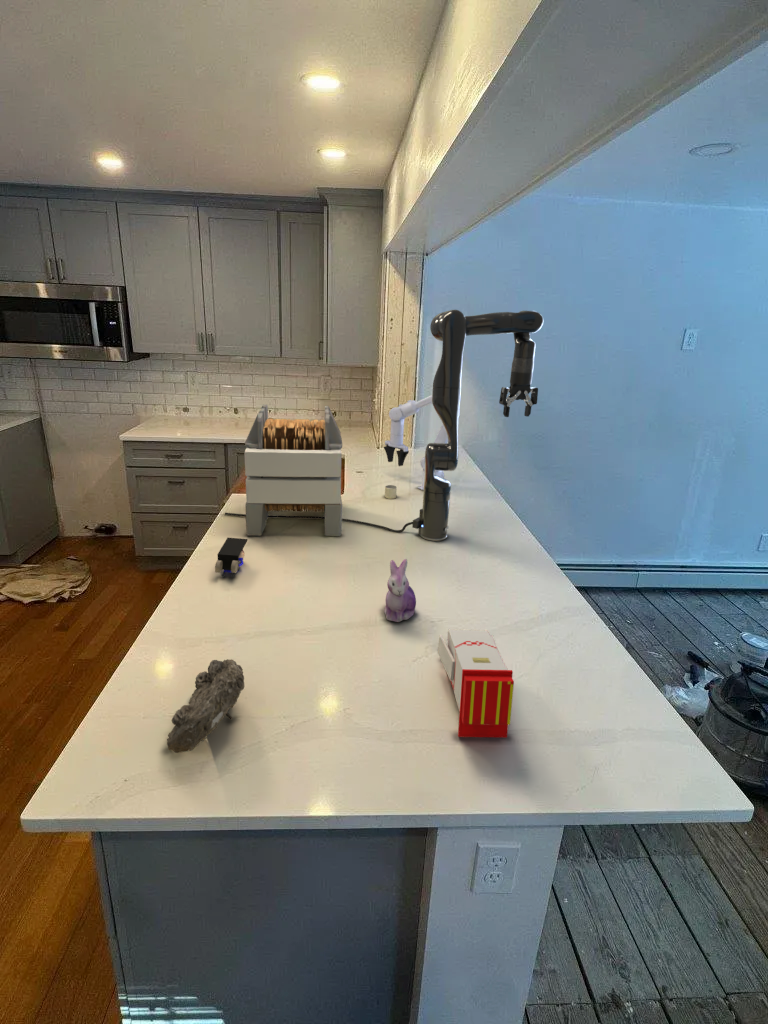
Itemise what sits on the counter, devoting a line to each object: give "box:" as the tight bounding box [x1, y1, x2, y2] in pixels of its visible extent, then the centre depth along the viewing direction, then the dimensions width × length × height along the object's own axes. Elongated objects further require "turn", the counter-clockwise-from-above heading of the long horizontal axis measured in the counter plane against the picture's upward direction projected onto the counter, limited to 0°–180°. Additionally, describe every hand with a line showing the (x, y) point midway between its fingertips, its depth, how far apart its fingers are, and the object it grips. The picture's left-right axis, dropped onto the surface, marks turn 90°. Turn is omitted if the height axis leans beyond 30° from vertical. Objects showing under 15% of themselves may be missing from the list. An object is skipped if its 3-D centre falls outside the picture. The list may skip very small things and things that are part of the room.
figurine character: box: [214, 537, 248, 578], centre depth 166 cm, size 7×8×15 cm
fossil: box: [166, 658, 245, 754], centre depth 106 cm, size 22×10×15 cm
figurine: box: [384, 558, 417, 623], centre depth 145 cm, size 9×10×15 cm
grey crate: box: [244, 404, 343, 537], centre depth 202 cm, size 34×33×41 cm
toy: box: [437, 628, 515, 738], centre depth 117 cm, size 12×13×30 cm
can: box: [384, 484, 397, 500], centre depth 238 cm, size 5×5×4 cm
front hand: (516, 416), depth 205 cm, fingers open, 8 cm apart
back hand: (395, 463), depth 257 cm, fingers open, 7 cm apart
